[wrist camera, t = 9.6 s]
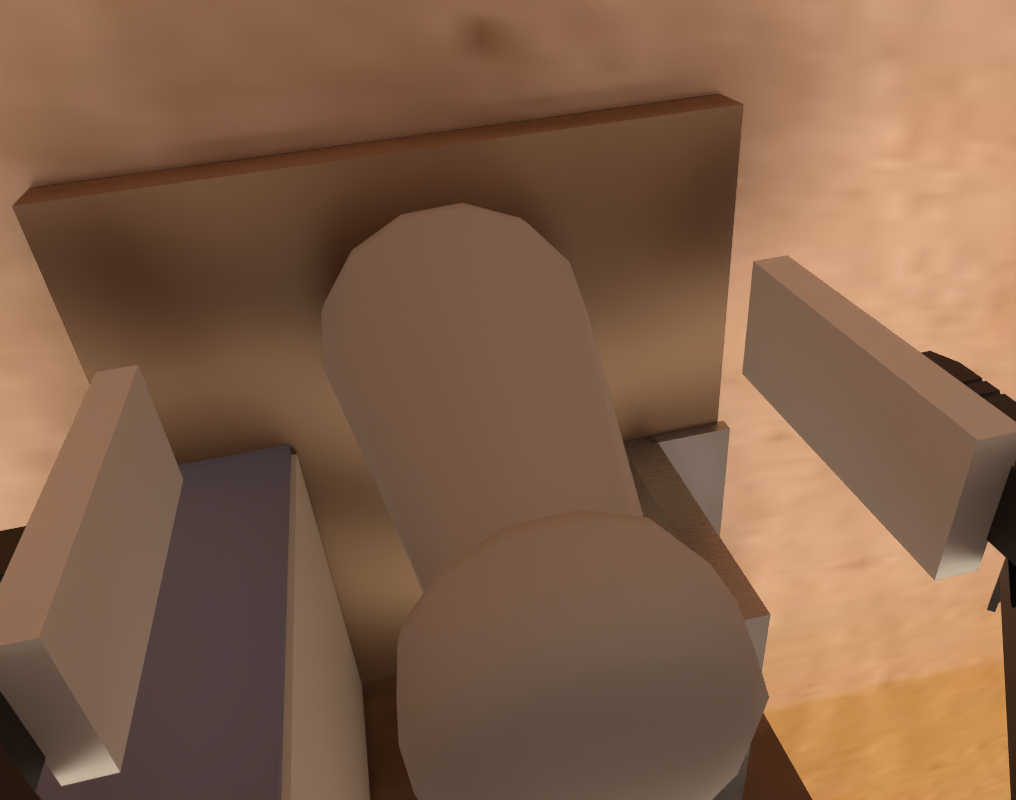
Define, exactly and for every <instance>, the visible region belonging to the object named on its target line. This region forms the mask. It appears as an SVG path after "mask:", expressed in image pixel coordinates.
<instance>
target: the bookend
mask: <svg viewBox="0 0 1016 800" xmlns="http://www.w3.org/2000/svg"><path fill="white" fill-rule="evenodd" d="M729 431H730V428H729V427H728V426H727V424H726V423H725V422H724V421H721V422H716V423H710V424H705V425H700V426H695V427H690V428H685V429H680V430H675V431H670V432H665V433H660V434H655V435H649V436H644V437H639V438H634V439H629V440H624V441H623V444H624V447H625V451H626V455H627V458H628V462H629V465H630V469H631V473H632V476H633V480H634V484H635V487H636V491H637V495H638V498H639V502H640V506H641V509H642V513H643V516H644V517H646V518H649V519H651V520H652V521H653V522H655V523H656V524H657V525H659V526H660V527H661V528H663V529H664V530H665V531H667V532H668V533H669V534H671V535H672V536H674V537H675V538H676V539H678V540H679V541H680V542H682V543H683V544H684V545H686V546H687V547H688V548H690V549H691V550H692V551H694V552H695V553H697V554H698V555H699V556H701V557H702V558H703V559H705V560H706V561H707V562H709V563H710V564H711V565H712V567H713V568H714V570H715V571H716V572H717V574H718V575H719V577H720V578H721V579H722V581H723V582H724V584H725V585H726V586H727V588H728V589H729V591H730V592H731V594H732V595H733V596H734V598H735V599H736V601H737V602H738V605H739V608H740V610H741V613H742V616H743V619H744V621H745V624H746V627H747V629H748V632H749V635H750V638H751V640H752V643H753V646H754V649H755V651H756V655H757V658H758V661H759V665H760V668H761V672H762V666H763V659H764V653H765V646H766V640H767V633H768V626H769V620H770V613H769V612H768V610H767V609H766V607H765V606H764V604H763V602H762V601H761V599H760V598H759V596H758V595H757V593H756V592H755V590H754V589H753V587H752V586H751V584H750V583H749V581H748V580H747V578H746V576H745V575H744V573H743V572H742V570H741V569H740V567H739V566H738V564H737V563H736V561H735V560H734V558H733V557H732V555H731V554H730V552H729V550H728V549H727V547H726V546H725V544H724V543H723V541H722V540H721V538H720V528H721V517H722V507H723V496H724V485H725V474H726V463H727V452H728V442H729ZM750 745H751V744H750ZM749 752H750V746H749V748H748V751H747V753H746V755H745V758H744V760H743V762H742V765H741V767H740V770H739V772H738V774H737V775H736V776H735V777H734V778H733V779H732V780H731V781H730V782H729V783H728V784H727V785H726V786H725V787H724V788H723V789H722V790H721V791H720V792H719V793H718V794H717V795H716V796H715V797H714V798H713V799H712V800H742V798H743V792H744V785H745V779H746V772H747V765H748V759H749Z"/></svg>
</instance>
